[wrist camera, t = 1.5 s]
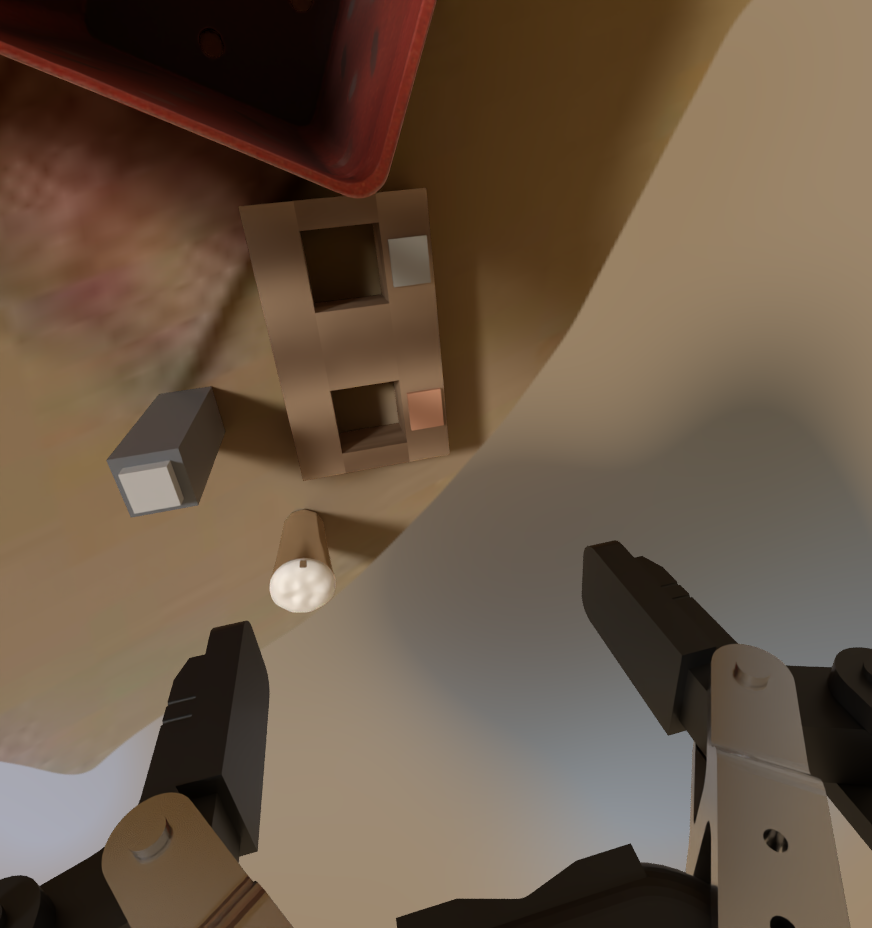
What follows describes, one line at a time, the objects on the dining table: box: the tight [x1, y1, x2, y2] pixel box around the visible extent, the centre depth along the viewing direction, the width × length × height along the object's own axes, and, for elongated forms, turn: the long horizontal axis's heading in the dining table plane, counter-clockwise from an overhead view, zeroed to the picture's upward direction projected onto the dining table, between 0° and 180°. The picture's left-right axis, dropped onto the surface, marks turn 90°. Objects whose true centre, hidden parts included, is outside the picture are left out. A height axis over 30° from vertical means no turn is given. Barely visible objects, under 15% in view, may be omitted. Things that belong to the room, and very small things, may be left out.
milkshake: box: [270, 509, 336, 613], centre depth 40 cm, size 4×5×10 cm
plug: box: [107, 386, 225, 517], centre depth 33 cm, size 4×4×12 cm
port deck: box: [238, 188, 450, 481], centre depth 36 cm, size 18×11×4 cm, turn 5°
